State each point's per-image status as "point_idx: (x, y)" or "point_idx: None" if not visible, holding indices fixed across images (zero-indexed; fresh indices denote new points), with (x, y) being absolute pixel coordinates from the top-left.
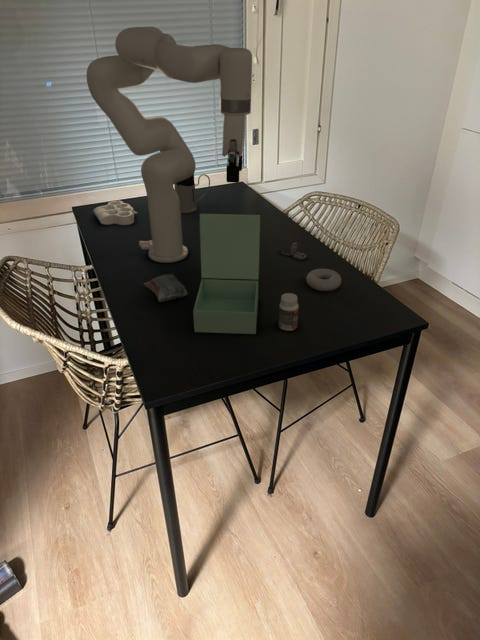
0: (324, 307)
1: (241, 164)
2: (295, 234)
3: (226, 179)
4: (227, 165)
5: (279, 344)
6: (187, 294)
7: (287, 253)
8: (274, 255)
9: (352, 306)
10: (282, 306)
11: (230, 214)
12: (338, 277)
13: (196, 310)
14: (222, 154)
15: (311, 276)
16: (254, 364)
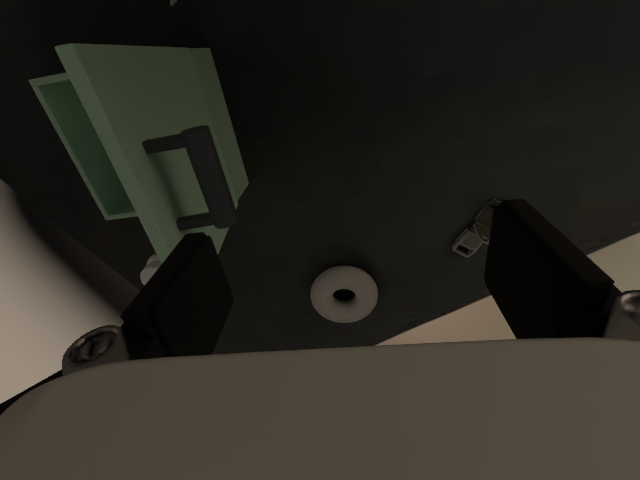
0: (264, 291)
1: (504, 316)
2: (615, 219)
3: (180, 240)
4: (71, 347)
5: (127, 238)
6: (171, 5)
7: (482, 216)
8: (479, 185)
9: (281, 325)
10: (148, 262)
11: (144, 207)
12: (339, 321)
13: (35, 88)
14: (25, 394)
15: (332, 282)
16: (56, 210)
